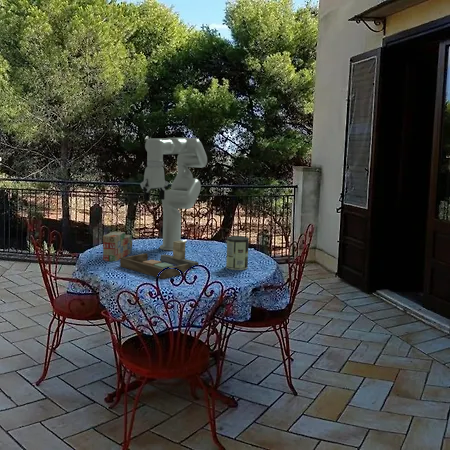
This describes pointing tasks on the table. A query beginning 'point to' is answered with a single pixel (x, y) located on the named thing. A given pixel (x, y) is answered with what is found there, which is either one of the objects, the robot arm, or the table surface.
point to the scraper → (178, 255)
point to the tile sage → (163, 265)
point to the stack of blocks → (116, 246)
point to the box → (149, 266)
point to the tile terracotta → (151, 262)
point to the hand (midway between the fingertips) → (154, 199)
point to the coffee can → (237, 252)
